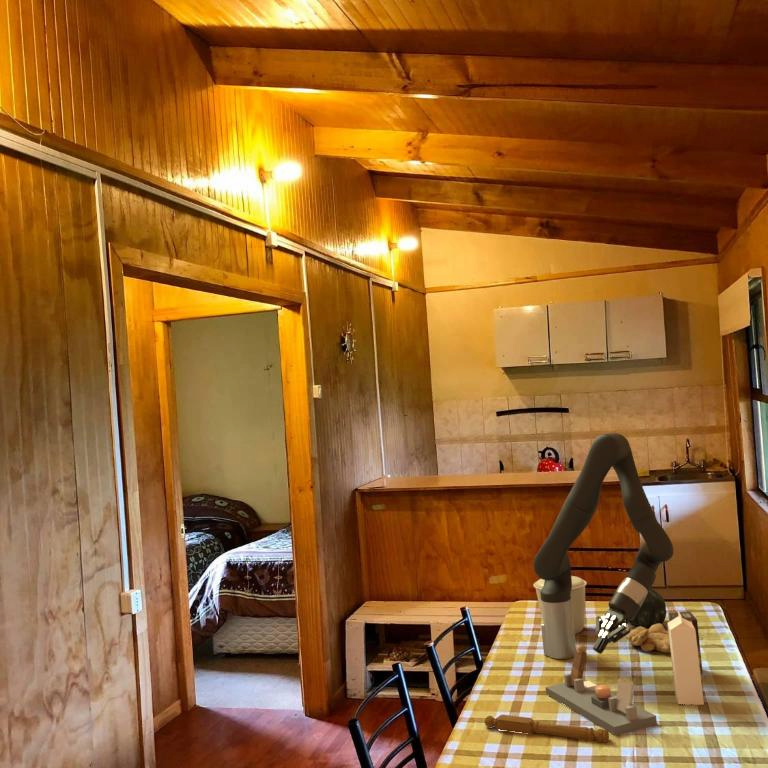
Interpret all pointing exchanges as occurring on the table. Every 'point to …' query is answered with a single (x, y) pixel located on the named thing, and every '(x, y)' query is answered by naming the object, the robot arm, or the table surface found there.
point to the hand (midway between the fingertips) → (596, 651)
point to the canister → (576, 601)
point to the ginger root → (650, 638)
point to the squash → (651, 610)
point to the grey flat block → (624, 695)
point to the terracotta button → (603, 691)
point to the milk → (685, 662)
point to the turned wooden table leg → (545, 728)
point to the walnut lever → (578, 663)
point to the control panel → (596, 712)
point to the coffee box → (693, 620)
